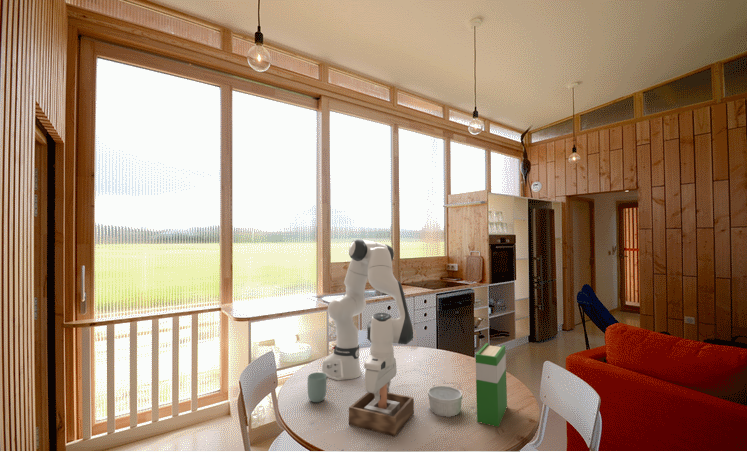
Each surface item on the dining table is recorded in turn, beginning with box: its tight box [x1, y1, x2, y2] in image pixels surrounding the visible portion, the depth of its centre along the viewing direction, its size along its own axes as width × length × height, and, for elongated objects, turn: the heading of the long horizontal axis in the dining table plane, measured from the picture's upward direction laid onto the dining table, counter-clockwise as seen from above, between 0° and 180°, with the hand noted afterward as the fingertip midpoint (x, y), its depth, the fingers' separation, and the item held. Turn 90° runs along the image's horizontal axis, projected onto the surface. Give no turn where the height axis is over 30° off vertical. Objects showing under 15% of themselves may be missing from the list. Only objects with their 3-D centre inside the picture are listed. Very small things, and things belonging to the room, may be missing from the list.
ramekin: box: [427, 385, 463, 418], centre depth 132 cm, size 13×13×7 cm
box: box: [348, 391, 415, 438], centre depth 126 cm, size 18×18×6 cm
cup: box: [307, 372, 328, 403], centre depth 141 cm, size 8×8×10 cm
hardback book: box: [475, 342, 508, 428], centre depth 130 cm, size 18×7×24 cm, turn 149°
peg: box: [378, 384, 387, 409], centre depth 126 cm, size 3×3×12 cm
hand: (382, 396), depth 126 cm, fingers open, 6 cm apart
